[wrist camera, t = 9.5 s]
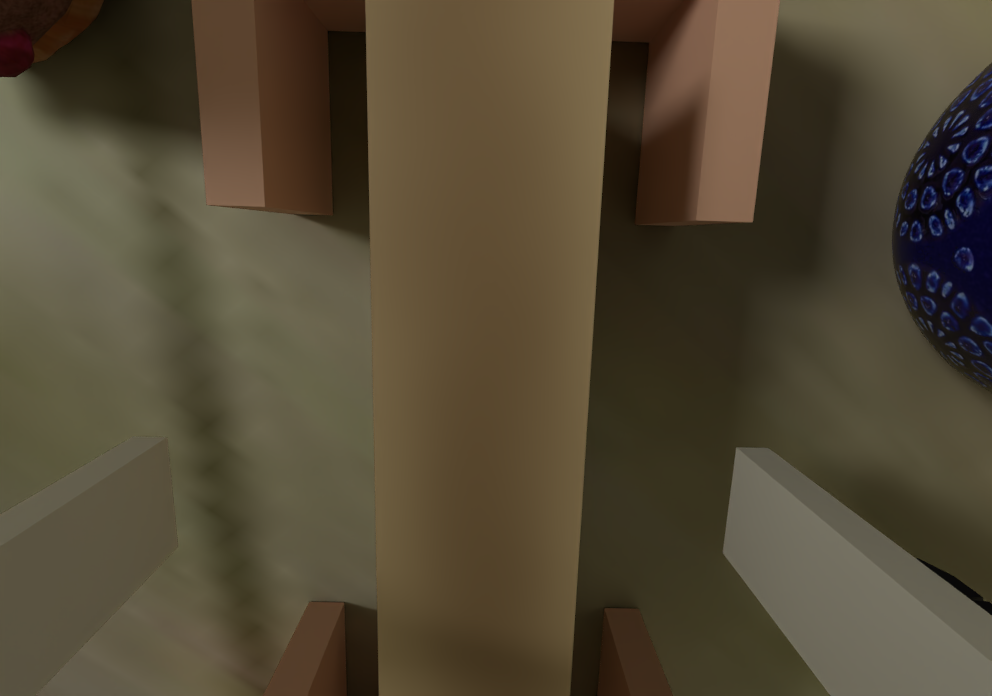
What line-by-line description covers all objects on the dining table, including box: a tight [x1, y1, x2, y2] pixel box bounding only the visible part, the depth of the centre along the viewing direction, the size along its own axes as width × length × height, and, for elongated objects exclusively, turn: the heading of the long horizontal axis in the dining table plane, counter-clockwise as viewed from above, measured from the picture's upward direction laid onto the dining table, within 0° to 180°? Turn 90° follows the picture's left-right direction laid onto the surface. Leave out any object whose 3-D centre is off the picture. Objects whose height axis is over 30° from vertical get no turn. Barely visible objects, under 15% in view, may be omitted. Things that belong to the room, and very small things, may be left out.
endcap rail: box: [191, 0, 780, 696], centre depth 15 cm, size 11×25×5 cm, turn 178°
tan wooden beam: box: [365, 0, 614, 696], centre depth 14 cm, size 4×20×6 cm, turn 179°
